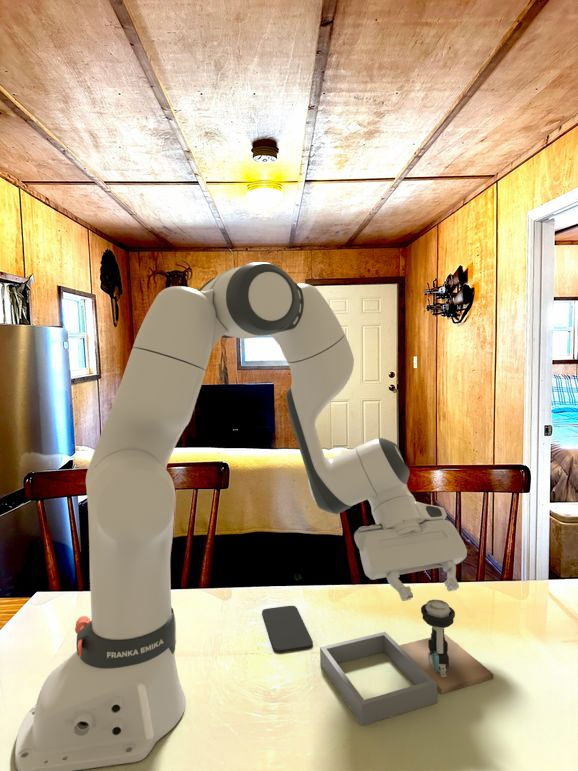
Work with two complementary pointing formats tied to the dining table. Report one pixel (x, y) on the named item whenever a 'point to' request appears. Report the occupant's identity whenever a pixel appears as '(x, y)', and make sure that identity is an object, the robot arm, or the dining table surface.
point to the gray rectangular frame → (386, 703)
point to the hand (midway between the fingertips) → (431, 594)
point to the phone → (286, 629)
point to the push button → (438, 632)
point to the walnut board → (460, 668)
